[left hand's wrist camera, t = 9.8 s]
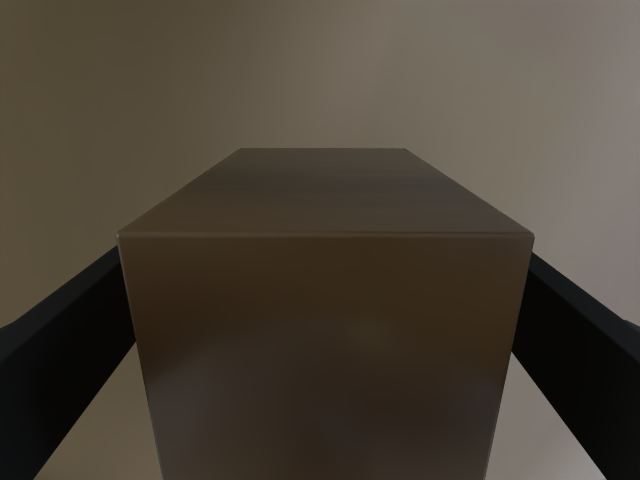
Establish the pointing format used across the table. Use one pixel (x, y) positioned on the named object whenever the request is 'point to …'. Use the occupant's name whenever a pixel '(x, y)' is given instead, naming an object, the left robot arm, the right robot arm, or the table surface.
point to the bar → (324, 318)
